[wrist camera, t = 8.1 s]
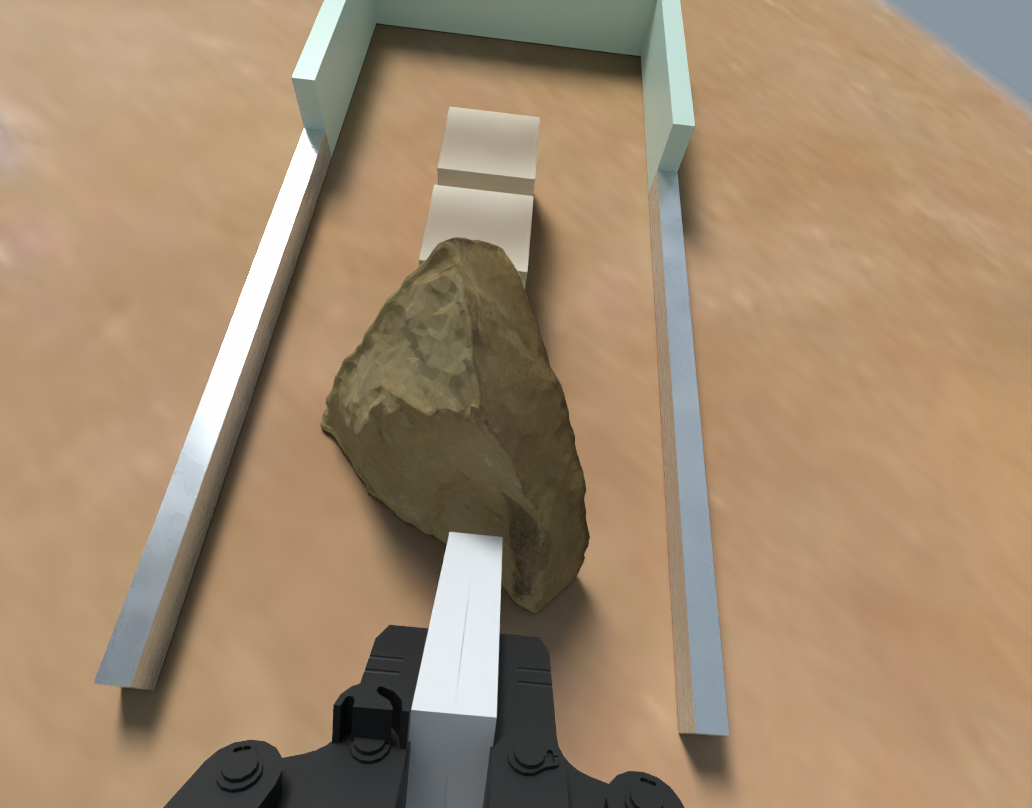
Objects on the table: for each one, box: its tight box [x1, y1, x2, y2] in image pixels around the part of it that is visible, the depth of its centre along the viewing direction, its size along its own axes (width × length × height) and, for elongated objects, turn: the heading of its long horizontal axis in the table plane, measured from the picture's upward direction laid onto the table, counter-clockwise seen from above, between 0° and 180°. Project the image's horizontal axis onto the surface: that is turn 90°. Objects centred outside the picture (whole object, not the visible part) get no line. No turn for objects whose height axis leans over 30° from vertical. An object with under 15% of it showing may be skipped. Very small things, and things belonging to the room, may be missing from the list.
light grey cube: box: [419, 185, 534, 290], centre depth 25 cm, size 4×4×4 cm
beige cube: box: [437, 107, 540, 196], centre depth 27 cm, size 4×4×4 cm
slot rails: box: [93, 128, 729, 736], centre depth 23 cm, size 24×18×2 cm
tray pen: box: [292, 0, 695, 192], centre depth 31 cm, size 13×18×4 cm
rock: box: [321, 237, 590, 613], centre depth 19 cm, size 10×8×10 cm
